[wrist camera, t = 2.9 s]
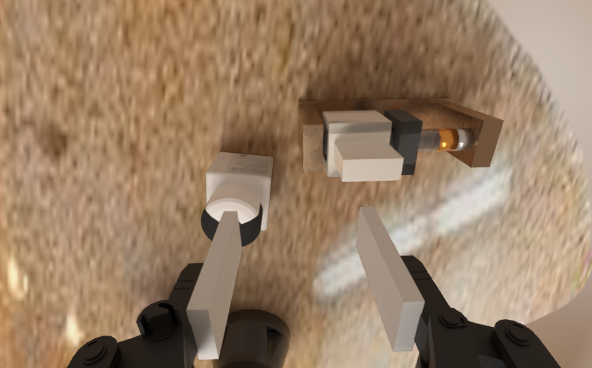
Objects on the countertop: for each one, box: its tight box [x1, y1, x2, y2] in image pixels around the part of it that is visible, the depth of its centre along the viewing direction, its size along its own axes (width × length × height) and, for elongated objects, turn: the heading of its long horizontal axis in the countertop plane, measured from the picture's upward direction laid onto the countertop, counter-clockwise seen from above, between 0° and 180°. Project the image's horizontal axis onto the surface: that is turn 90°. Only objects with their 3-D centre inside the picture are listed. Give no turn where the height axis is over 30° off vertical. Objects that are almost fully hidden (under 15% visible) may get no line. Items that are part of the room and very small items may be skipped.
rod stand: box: [298, 98, 504, 172], centre depth 34 cm, size 20×6×11 cm, turn 91°
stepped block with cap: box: [322, 110, 404, 182], centre depth 29 cm, size 6×6×11 cm
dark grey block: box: [384, 110, 423, 175], centre depth 31 cm, size 2×6×6 cm, turn 0°
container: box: [201, 152, 273, 247], centre depth 36 cm, size 8×8×13 cm
